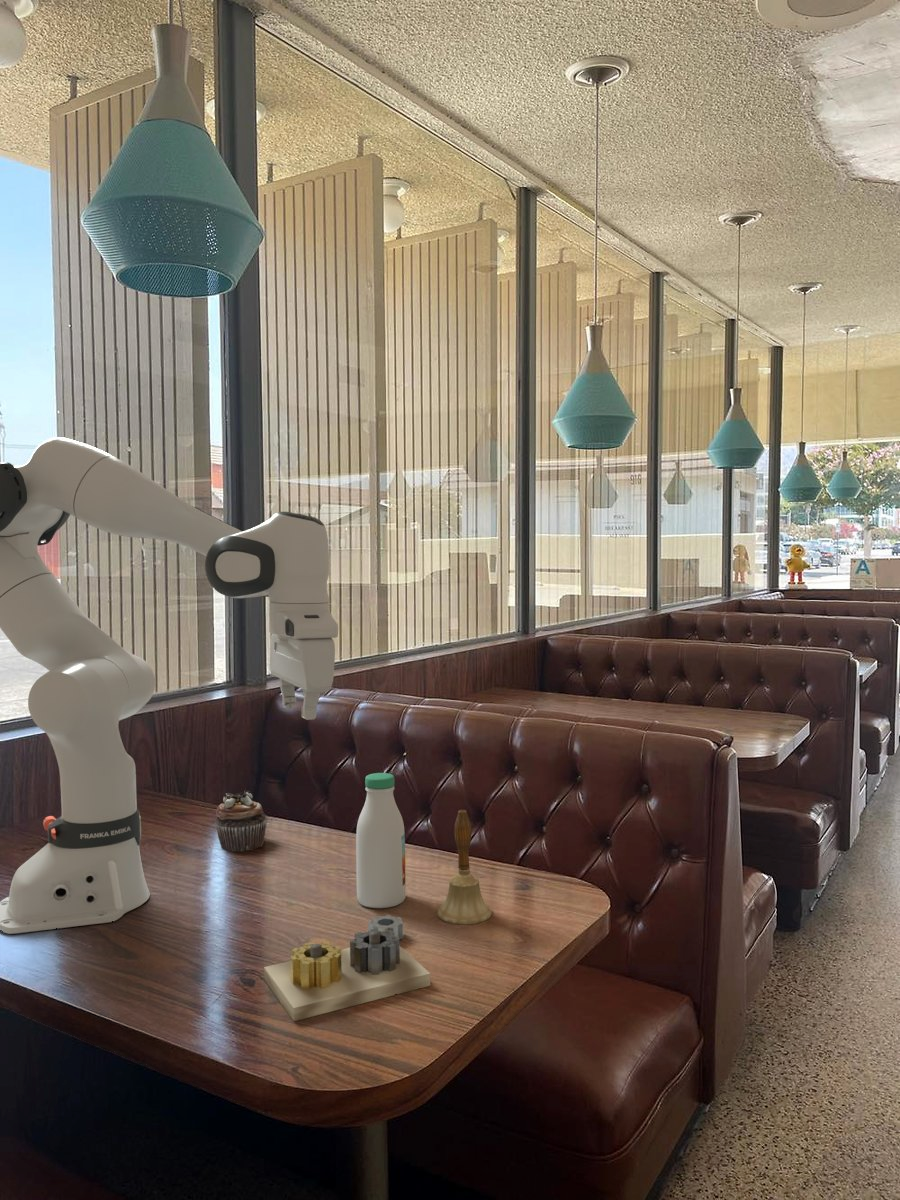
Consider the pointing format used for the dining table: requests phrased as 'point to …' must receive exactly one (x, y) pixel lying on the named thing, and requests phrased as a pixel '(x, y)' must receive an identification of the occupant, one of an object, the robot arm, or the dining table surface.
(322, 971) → the brass gear
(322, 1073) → the dining table surface
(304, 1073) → the dining table surface
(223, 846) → the cupcake
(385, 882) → the milk bottle
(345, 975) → the gear board
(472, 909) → the hand bell
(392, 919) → the zinc gear
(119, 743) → the robot arm
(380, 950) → the steel gear
